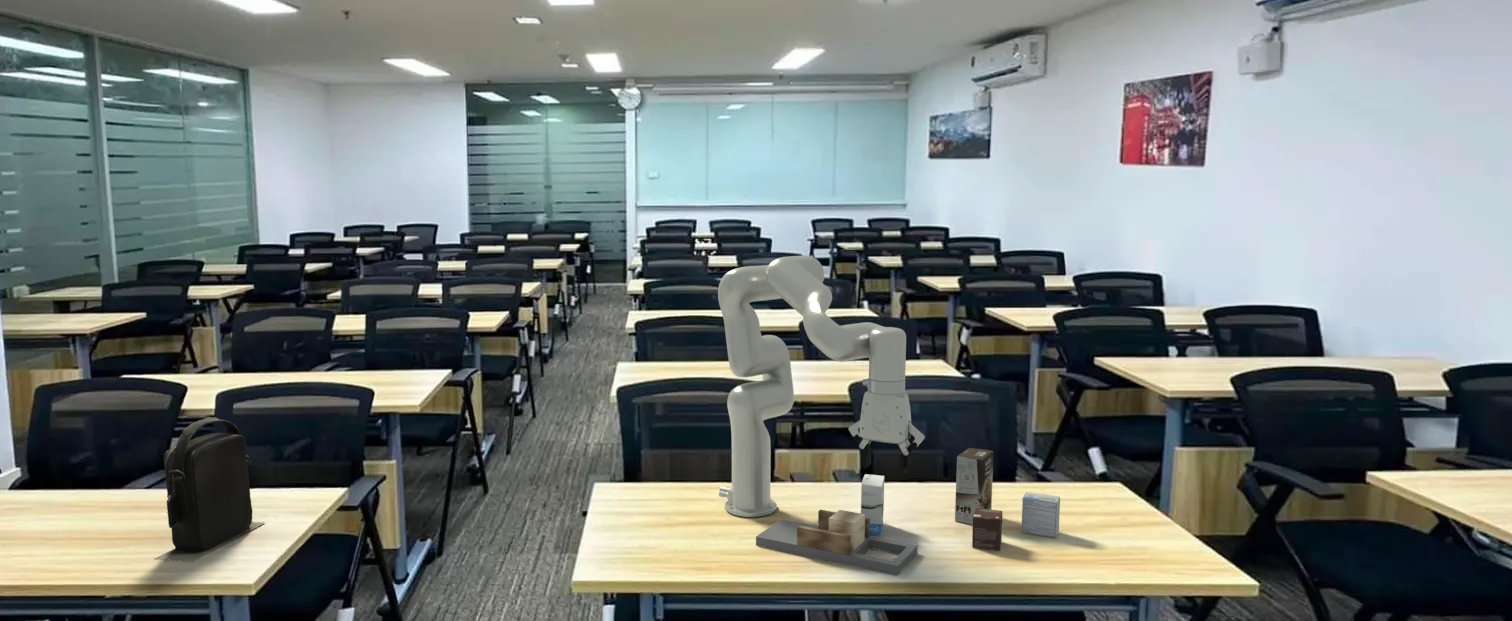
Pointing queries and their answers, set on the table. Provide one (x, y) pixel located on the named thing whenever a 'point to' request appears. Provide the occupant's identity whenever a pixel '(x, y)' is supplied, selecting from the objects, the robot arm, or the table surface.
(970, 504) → the coffee box
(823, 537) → the tunnel walls
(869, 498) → the ink box
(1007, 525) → the table surface
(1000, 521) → the box
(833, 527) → the maple block
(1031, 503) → the medicine box
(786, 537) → the deck
